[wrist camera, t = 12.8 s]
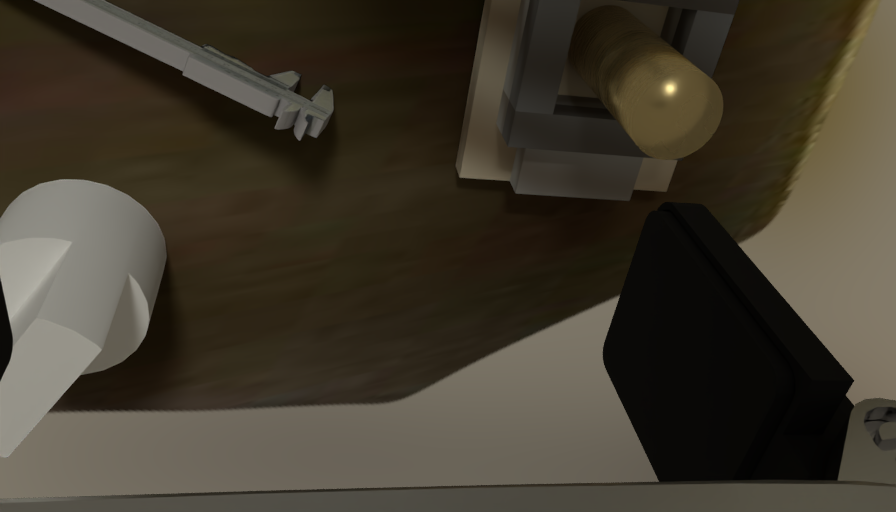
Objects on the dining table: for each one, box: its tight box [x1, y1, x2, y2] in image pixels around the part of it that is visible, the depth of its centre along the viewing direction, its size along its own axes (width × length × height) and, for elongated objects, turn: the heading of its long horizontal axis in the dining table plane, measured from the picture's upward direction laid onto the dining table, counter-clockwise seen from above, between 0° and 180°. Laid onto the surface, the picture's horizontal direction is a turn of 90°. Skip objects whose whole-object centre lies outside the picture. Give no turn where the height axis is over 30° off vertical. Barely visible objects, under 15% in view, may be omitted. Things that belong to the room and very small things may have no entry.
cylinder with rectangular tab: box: [0, 179, 167, 458], centre depth 39 cm, size 9×9×12 cm
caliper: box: [34, 0, 334, 141], centre depth 35 cm, size 20×1×6 cm, turn 63°
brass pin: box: [568, 5, 723, 160], centre depth 36 cm, size 4×4×10 cm
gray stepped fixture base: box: [456, 0, 739, 201], centre depth 39 cm, size 17×13×4 cm
